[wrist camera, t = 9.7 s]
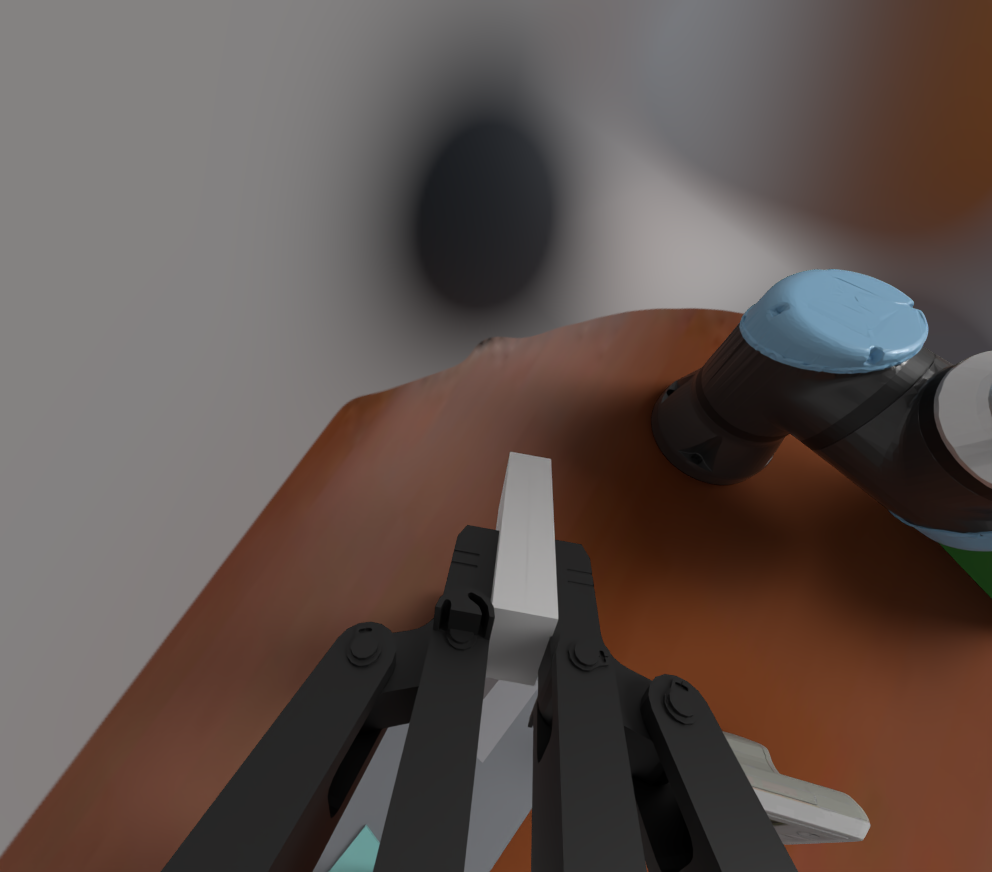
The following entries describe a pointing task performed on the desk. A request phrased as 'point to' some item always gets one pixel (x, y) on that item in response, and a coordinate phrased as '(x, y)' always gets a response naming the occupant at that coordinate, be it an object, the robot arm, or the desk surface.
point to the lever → (500, 711)
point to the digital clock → (798, 801)
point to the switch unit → (493, 808)
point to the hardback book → (974, 565)
